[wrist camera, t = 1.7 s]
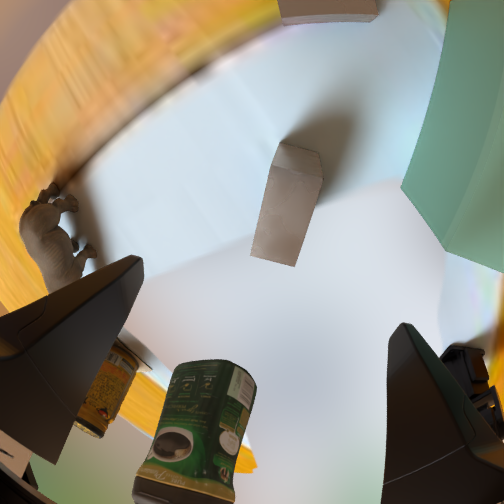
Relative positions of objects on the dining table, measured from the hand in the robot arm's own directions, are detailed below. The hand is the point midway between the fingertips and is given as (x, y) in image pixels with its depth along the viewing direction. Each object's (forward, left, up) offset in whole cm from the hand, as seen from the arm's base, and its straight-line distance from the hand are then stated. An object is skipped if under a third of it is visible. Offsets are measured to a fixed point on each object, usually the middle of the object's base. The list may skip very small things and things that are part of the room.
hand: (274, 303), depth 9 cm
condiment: (-27, +16, -11) cm, 33 cm away
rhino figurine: (-10, +17, -11) cm, 23 cm away
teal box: (+9, -13, -11) cm, 19 cm away
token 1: (0, 0, -11) cm, 11 cm away
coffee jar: (-24, +2, -11) cm, 26 cm away
